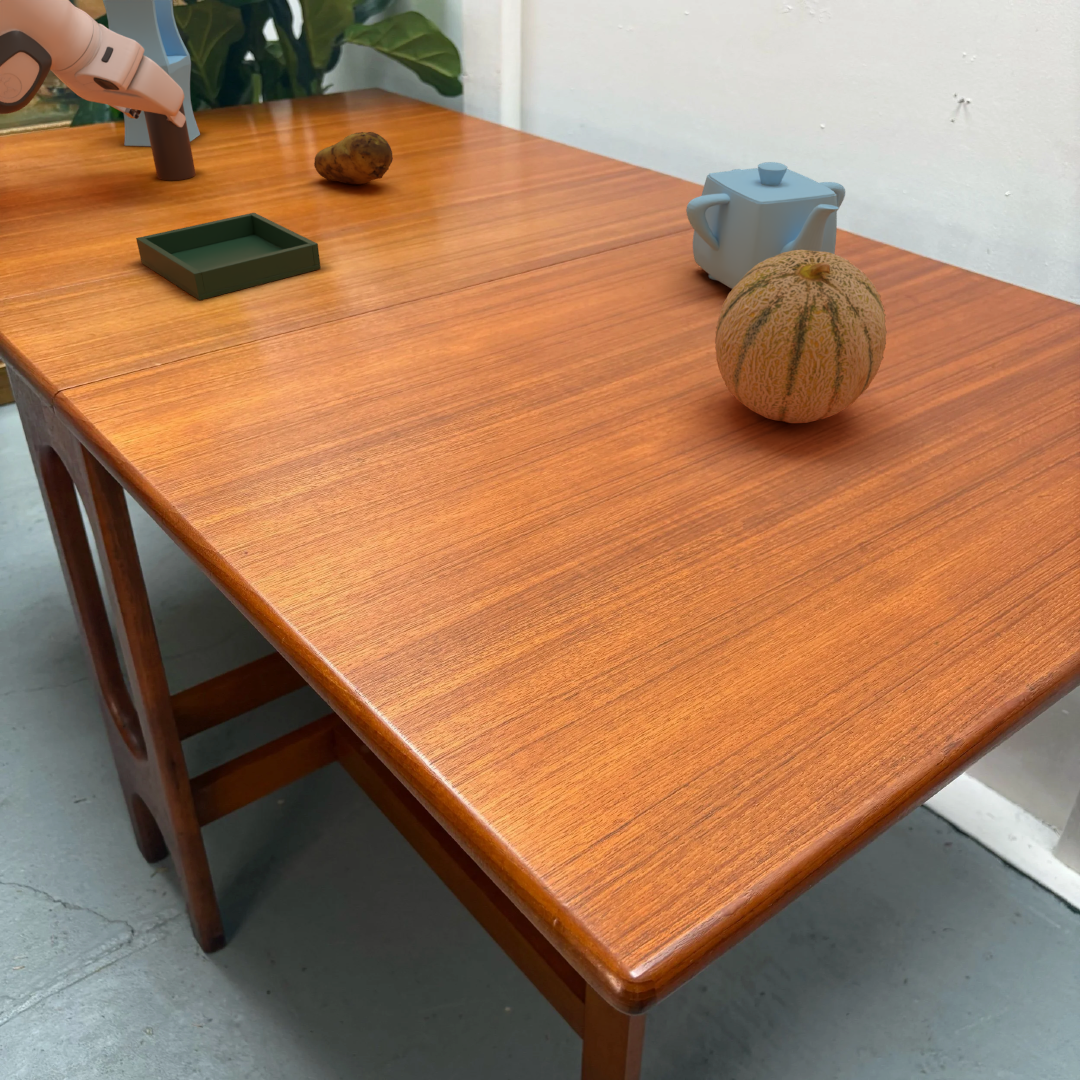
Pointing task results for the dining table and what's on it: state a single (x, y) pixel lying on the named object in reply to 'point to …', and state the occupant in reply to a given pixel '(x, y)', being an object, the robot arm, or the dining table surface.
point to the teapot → (760, 218)
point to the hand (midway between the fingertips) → (158, 118)
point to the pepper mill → (170, 147)
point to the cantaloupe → (801, 336)
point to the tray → (228, 255)
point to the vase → (153, 53)
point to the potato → (355, 159)
